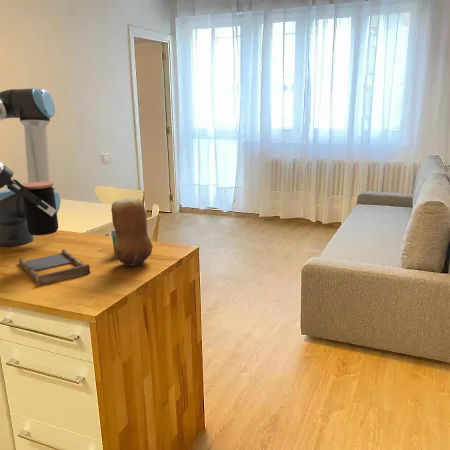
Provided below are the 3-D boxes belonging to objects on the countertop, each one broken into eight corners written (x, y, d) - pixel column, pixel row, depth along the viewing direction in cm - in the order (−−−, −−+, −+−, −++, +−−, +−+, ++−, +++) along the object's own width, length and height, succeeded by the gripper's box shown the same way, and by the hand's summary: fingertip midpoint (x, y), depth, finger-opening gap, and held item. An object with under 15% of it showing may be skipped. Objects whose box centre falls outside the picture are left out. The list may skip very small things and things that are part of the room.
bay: (19, 263, 169) (18, 255, 168) (64, 253, 179) (63, 246, 178) (40, 285, 147) (38, 276, 146) (90, 273, 157) (89, 265, 156)
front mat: (23, 262, 169) (23, 261, 169) (62, 254, 178) (61, 253, 177) (32, 272, 159) (32, 270, 159) (72, 262, 167) (72, 261, 167)
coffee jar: (64, 229, 168) (59, 181, 164) (45, 236, 159) (39, 187, 154) (41, 227, 172) (35, 181, 167) (21, 234, 162) (14, 186, 157)
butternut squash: (124, 258, 172) (119, 194, 165) (158, 259, 169) (153, 194, 163) (109, 270, 158) (102, 202, 152) (145, 272, 156) (139, 203, 149)
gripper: (-18, 178, 159) (33, 213, 173) (-4, 186, 142) (52, 224, 155) (-4, 161, 161) (45, 198, 174) (12, 168, 143) (66, 207, 157)
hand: (49, 210), depth 165 cm, fingers closed on coffee jar, 11 cm apart
